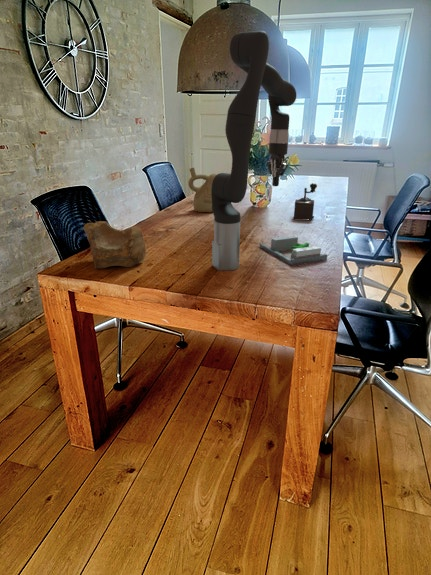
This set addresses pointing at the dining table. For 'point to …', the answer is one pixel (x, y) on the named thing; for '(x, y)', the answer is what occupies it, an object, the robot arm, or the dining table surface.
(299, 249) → the vise
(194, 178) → the ceramic vessel
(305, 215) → the manual coffee grinder
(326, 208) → the dining table surface
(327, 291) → the dining table surface
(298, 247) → the pipe clamp
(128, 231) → the rough brown rock
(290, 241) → the block
